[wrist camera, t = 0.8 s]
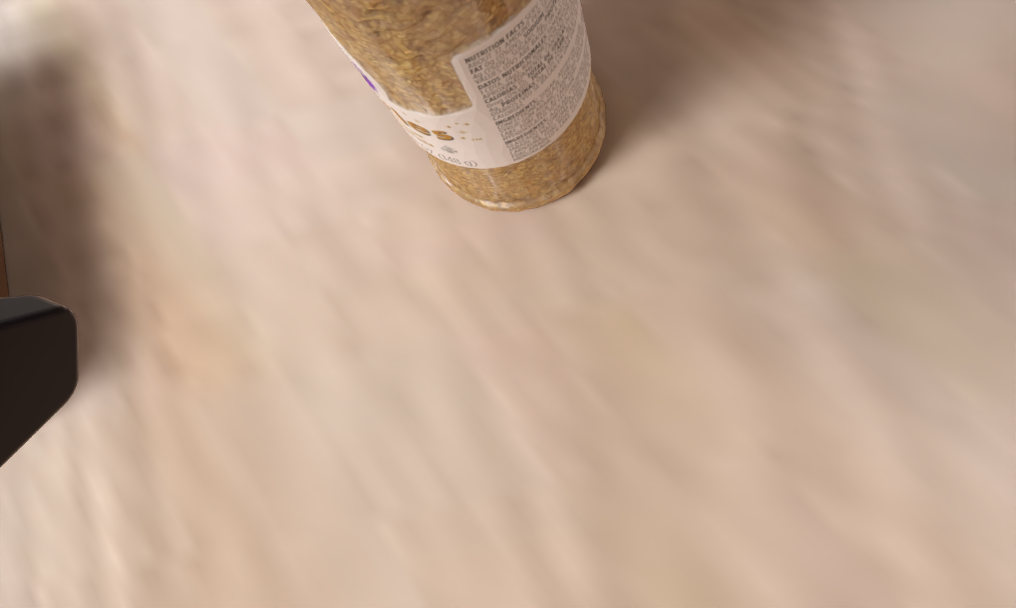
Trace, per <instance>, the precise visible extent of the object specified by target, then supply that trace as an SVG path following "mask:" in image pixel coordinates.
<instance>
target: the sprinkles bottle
mask: <svg viewBox="0 0 1016 608" xmlns="http://www.w3.org/2000/svg"><path fill="white" fill-rule="evenodd" d="M306 1H307V2H308V3H309V4H310V5H311V6H312V8H313V9H314V10H315V11H316V12H317V14H318V15H319V16H320V18H321V19H322V21H323V23H324V25H325V27H326V28H327V30H328V31H329V33H330V34H331V36H332V37H333V38H334V40H335V41H336V42H337V44H338V45H339V46H340V48H341V49H342V50H343V52H344V53H345V54H346V55H347V56H348V58H349V59H350V60H351V61H352V63H353V64H354V66H355V67H356V68H357V69H358V71H359V72H360V73H361V75H362V76H363V77H364V78H365V80H366V81H367V82H368V83H369V85H370V86H371V87H372V89H373V90H374V91H375V93H376V94H377V95H378V96H379V97H380V99H381V100H382V101H383V102H384V103H385V104H386V106H387V107H388V108H389V110H390V111H391V112H392V113H393V115H394V116H395V117H396V119H397V120H398V121H399V122H400V124H401V125H402V126H403V128H404V129H405V130H406V131H407V133H408V134H409V135H410V136H411V138H412V139H413V140H414V141H415V142H416V143H417V144H418V145H419V146H421V147H422V148H423V149H424V150H425V151H426V152H427V153H428V156H429V158H430V161H431V163H432V164H433V166H434V167H435V169H436V172H437V173H438V174H439V176H440V178H441V179H442V180H443V181H444V183H445V184H446V185H447V186H448V187H449V188H450V189H451V190H453V191H454V192H455V193H457V194H458V195H459V196H460V197H462V198H463V199H465V200H467V201H469V202H471V203H474V204H476V205H478V206H481V207H484V208H487V209H489V210H492V211H509V212H517V211H523V210H526V209H531V208H537V207H540V206H542V205H545V204H547V203H550V202H553V201H554V200H556V199H558V198H560V197H562V196H564V195H566V194H568V193H569V192H570V191H571V190H572V189H573V188H574V187H575V186H576V185H577V184H578V182H579V181H580V180H581V179H582V178H583V177H584V176H585V175H586V174H587V173H588V171H589V170H590V168H591V166H592V165H593V163H594V162H595V160H596V159H597V157H598V155H599V152H600V149H601V146H602V143H603V140H604V137H605V118H606V117H605V104H604V100H603V96H602V92H601V88H600V86H599V84H598V82H597V80H596V78H595V76H594V75H593V73H592V70H591V53H590V45H589V40H588V36H587V31H586V26H585V22H584V17H583V12H582V7H581V3H580V0H306Z"/></svg>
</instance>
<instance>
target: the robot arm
mask: <svg viewBox="0 0 1016 608" xmlns="http://www.w3.org/2000/svg"><path fill="white" fill-rule="evenodd" d="M78 375H79V373H78V324H77V319H76V317H75V315H74V312H73V311H72V310H70V309H69V308H68V307H66V306H64V305H61V304H59V303H56V302H54V301H52V300H49V299H47V298H44V297H41V296H36V295H28V296H17V297H6V298H0V467H1V466H2V465H3V464H4V463H5V462H6V461H7V460H8V459H9V458H10V457H12V456H13V455H14V454H15V453H16V452H17V451H18V450H19V449H20V448H21V447H22V446H23V445H24V444H25V443H26V442H27V441H28V440H29V439H30V438H31V437H32V436H33V435H34V434H35V433H36V432H37V431H38V430H39V429H40V428H41V427H42V426H43V425H44V424H45V423H46V422H47V421H48V420H49V419H50V418H51V417H52V416H53V415H54V414H55V413H56V412H57V411H58V410H59V409H60V408H61V407H62V406H63V405H64V404H65V403H66V402H67V401H68V400H69V399H70V397H71V396H72V394H73V393H74V390H75V388H76V386H77V382H78Z"/></svg>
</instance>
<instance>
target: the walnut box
mask: <svg viewBox="0 0 1016 608" xmlns="http://www.w3.org/2000/svg"><path fill="white" fill-rule="evenodd" d="M6 297H9V295H8V286H7V278H6V269H5V261H4V252H3V244H2V235H1V227H0V298H6Z"/></svg>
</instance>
